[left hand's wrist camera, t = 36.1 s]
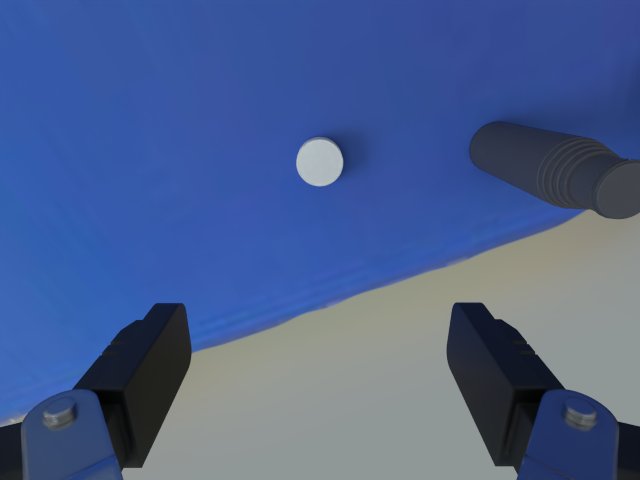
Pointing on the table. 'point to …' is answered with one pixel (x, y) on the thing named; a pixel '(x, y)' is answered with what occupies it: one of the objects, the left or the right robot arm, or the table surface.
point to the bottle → (559, 168)
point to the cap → (319, 161)
